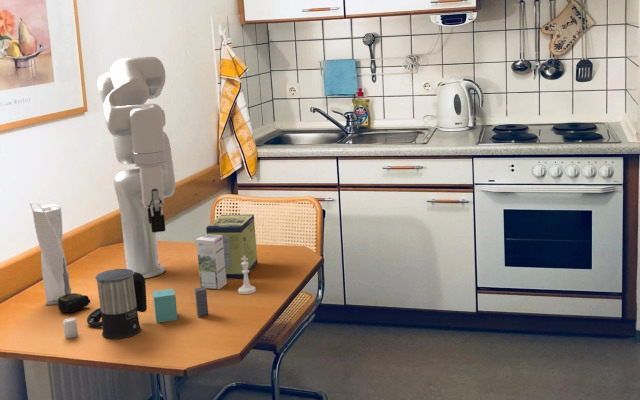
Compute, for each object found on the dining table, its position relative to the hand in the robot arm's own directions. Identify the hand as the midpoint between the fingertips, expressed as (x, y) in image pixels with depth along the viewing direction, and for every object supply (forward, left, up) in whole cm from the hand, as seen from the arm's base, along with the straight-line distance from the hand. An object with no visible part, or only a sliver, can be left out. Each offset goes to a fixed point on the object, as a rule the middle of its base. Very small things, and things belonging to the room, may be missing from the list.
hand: (157, 227), depth 201 cm
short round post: (+3, -23, -24) cm, 33 cm away
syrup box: (-20, +15, -24) cm, 35 cm away
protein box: (-32, +23, -24) cm, 46 cm away
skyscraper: (-27, -27, -24) cm, 45 cm away
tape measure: (-17, -23, -24) cm, 37 cm away
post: (+2, +9, -24) cm, 25 cm away
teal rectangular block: (0, 0, -24) cm, 24 cm away
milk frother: (+2, -13, -24) cm, 27 cm away
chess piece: (-12, +23, -24) cm, 35 cm away
